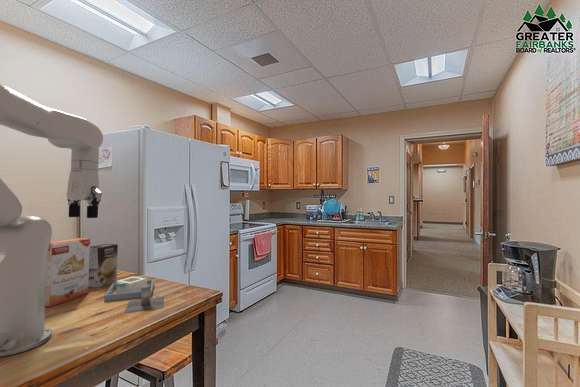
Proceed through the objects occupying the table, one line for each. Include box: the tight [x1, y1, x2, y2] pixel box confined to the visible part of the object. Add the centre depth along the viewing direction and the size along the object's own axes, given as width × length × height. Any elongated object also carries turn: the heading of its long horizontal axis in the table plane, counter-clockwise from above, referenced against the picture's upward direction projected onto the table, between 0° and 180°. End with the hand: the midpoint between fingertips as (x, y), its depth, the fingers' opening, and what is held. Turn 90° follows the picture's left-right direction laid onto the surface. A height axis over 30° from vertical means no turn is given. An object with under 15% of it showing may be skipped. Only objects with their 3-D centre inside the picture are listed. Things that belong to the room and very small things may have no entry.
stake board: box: [123, 285, 165, 314], centre depth 92 cm, size 11×11×7 cm
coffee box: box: [88, 243, 119, 289], centre depth 116 cm, size 9×6×16 cm
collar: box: [115, 276, 148, 294], centre depth 103 cm, size 9×7×5 cm
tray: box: [103, 279, 155, 303], centre depth 104 cm, size 14×14×3 cm
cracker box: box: [45, 237, 91, 308], centre depth 98 cm, size 14×6×21 cm, turn 168°
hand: (83, 217), depth 94 cm, fingers open, 9 cm apart
